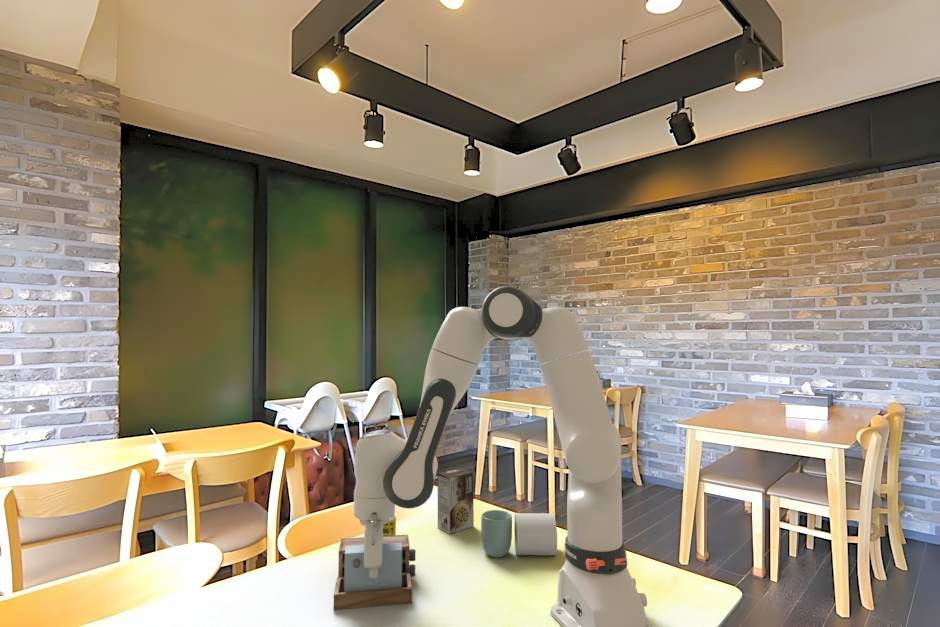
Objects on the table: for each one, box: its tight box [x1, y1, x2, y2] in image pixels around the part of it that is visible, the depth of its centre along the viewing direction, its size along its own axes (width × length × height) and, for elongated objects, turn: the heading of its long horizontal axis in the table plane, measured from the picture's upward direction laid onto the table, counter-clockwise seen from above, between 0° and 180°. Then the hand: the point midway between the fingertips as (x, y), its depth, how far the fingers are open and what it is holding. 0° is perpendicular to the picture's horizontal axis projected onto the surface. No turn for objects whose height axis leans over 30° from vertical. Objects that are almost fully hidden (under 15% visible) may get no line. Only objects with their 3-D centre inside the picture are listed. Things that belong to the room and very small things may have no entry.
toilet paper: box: [513, 512, 558, 556], centre depth 133 cm, size 10×10×10 cm
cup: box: [480, 509, 513, 558], centre depth 132 cm, size 8×8×10 cm
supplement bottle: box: [383, 512, 397, 536], centre depth 141 cm, size 5×5×8 cm
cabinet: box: [333, 534, 416, 610], centre depth 115 cm, size 18×17×8 cm
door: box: [344, 542, 402, 592], centre depth 110 cm, size 5×12×8 cm, turn 99°
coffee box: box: [437, 467, 475, 535], centre depth 151 cm, size 9×6×16 cm
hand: (373, 570), depth 110 cm, fingers closed on door, 4 cm apart
